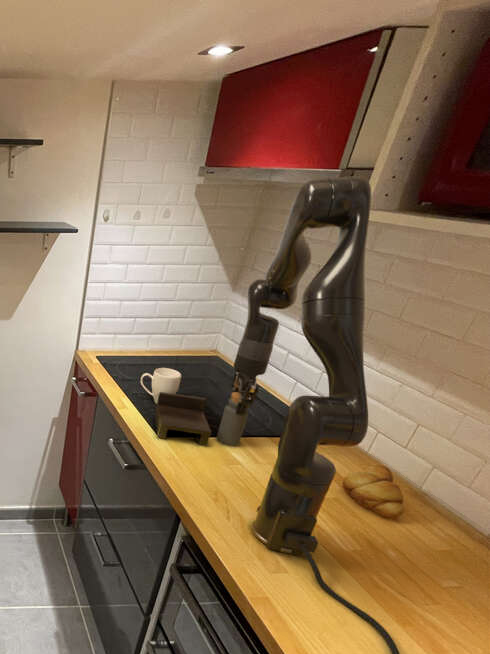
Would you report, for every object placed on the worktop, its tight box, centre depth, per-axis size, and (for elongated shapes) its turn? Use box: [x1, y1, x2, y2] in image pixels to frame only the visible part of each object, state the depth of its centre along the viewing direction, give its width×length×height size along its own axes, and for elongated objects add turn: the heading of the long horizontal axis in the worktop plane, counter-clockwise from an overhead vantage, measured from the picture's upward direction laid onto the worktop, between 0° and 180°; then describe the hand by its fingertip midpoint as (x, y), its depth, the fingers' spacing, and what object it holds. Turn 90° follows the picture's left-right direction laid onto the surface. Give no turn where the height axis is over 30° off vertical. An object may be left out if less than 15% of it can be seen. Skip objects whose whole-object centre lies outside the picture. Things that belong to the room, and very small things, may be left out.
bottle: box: [216, 391, 250, 447], centre depth 128 cm, size 6×6×15 cm
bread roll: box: [342, 464, 405, 519], centre depth 105 cm, size 13×10×8 cm
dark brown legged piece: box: [153, 392, 212, 447], centre depth 133 cm, size 14×13×9 cm
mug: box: [140, 367, 182, 405], centre depth 151 cm, size 12×8×11 cm
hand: (237, 409), depth 127 cm, fingers closed on bottle, 5 cm apart
